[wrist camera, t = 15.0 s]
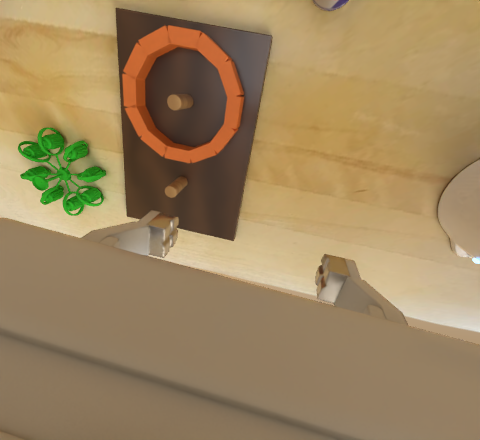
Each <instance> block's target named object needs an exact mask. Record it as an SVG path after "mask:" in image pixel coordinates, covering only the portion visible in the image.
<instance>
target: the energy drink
mask: <svg viewBox="0 0 480 440" xmlns="http://www.w3.org/2000/svg"><path fill="white" fill-rule="evenodd" d="M312 1H313V3H314V4H315V5H316V6H317V7H318V8H320V9H322V10H325V11H332V10H336V9H338V8H340V7H342V6H343V5H345V4H346V3H347V2H348V1H349V0H312Z"/></svg>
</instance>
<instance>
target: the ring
mask: <svg viewBox="0 0 480 440" xmlns="http://www.w3.org/2000/svg"><path fill="white" fill-rule="evenodd" d="M138 41H139V43H136V45H135V47H134V49H133V51H132V53H131V55H130V57H129V59H128V61H127V63H126V66H125V68H124V70H123V71H124V72H125V73H126V74H122V76H123V97H124V106H126V107H127V108H125V110H126V112H127V114H128V116H129V118H130V120H131V122H132V124H133V126H134V128H135V130H136V132H137V134H138V136H139V137H140V136H142V137H141V138H140V139H141V140H142V141H144V142H145V143H146V144H147V145H149V146H150V147H151V148H152V149H153V150H155V151H156V152H157V153H158V154H159V155H161V156H162V157H163V156H165V158H167V159H172V160H177V161H181V162H186V163H191V162H192V163H195V162H198V161H201V160H203V159H206V158H209V157H212V156H215V155H217V154H218V153H219V152H220V151H221V150H222V149H223V148H224V147H225V146H226V144H227V143H228V142H229V141H230V139H231V138H232V137H233V136H234V134H235V133H236V132H237V130H238V127H239V126H240V121H241V114H242V108H243V102H244V97H243V96H241V95H243V94H244V92H243V89H242V86H241V83H240V79H239V76H238V73H237V70H236V67H235V64H234V62H233V61H232V59H231V58H230V57H229V56H228V55H227V54H226V53H225V52H224V51H223V50H222V49H221V48H220V47H219V46H218V45H217V44H216V43H215V42H214V41H213V40H212V39H211V38H210V37H209V36H207V35H206V34H205V33H202V32H201V31H199V30H193V29H188V28H182V27H177V26H171V25H168V27H167V26H163V27H161V28H159V29H158V30H156V31H154V32H152V33H150V34H149V35H147V36H145V37H143V38H141V39H140V40H138ZM177 47H180V48H186V49H191V50H196V51H199V52H200V53H201V54H202V55H203V56H204V57H206V58H207V59H208V60H209V61H210V62H211V63H212V64H213V65H214V66H215V67H216V68H217V69H218V72H219V75H220V77H221V80H222V83H223V86H224V89H225V92H226V95H227V103H226V111H225V119H224V124H223V126H222V127H221V128H220V130H219V131H218V132H217V134H216V135H215V137H214V138H213V139H212V141H210V142H207V143H205V144H202V145H199V146H197V147H190V146H186V145H181V144H176V143H173V142H172V141H171V140H170V139H169V138H167V137H166V136H165V135H164V134H163V133H161V132H160V131H159V130H158V129H157V128H156V127H155V125H154V123H153V120H152V118H151V116H150V114H149V112H148V110H147V108H146V106H145V79H146V77H147V75H148V73H149V71H150V69H151V67H152V66H153V64H154V62H155V60H156V58H157V57H159V56H161V55H163V54H165V53H167V52H169V51H171V50H173V49H175V48H177Z"/></svg>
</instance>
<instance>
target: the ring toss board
mask: <svg viewBox="0 0 480 440" xmlns="http://www.w3.org/2000/svg"><path fill="white" fill-rule="evenodd" d="M116 23H117V41H118V60H119V79H120V97H121V116H122V134H123V153H124V171H125V190H126V209H127V216H128V217H132V218H137V219H142V218H143V217H144V216H145V215H146V214H148V213H149V212H150V211H151V210H152V211H158V212H161V213H165V214H169V215H172V216H176V217H178V218H179V224H178V226H177V227H176V228H180V229H184V230H188V231H193V232H197V233H201V234H206V235H210V236H214V237H219V238H223V239H227V240H231V241H234V239H235V234H236V229H237V223H238V218H239V213H240V208H241V202H242V197H243V192H244V186H245V181H246V176H247V170H248V165H249V160H250V154H251V149H252V144H253V139H254V133H255V128H256V123H257V117H258V112H259V107H260V101H261V96H262V91H263V85H264V80H265V75H266V69H267V64H268V59H269V54H270V48H271V43H272V36H270V35H265V34H259V33H254V32H248V31H242V30H237V29H231V28H226V27H220V26H215V25H209V24H203V23H198V22H192V21H187V20H181V19H176V18H170V17H164V16H159V15H153V14H148V13H142V12H137V11H131V10H125V9H120V8H116ZM168 25H171V26H177V27H182V28H188V29H193V30H199V31H201V32H202V33H205V34H206V35H207V36H209V37H210V38H211V39H212V40H213V41H214V42H215V43H216V44H217V45H218V46H219V47H220V48H221V49H222V50H223V51H224V52H225V53H226V54H227V55H228V56H229V57H230V58H231V59H232V61H233V62H234V64H235V67H236V70H237V73H238V76H239V79H240V83H241V86H242V89H243V92H244V94H243V95H241V96H243V97H244V102H243V108H242V114H241V121H240V126H239V127H238V130H237V132H236V133H235V134H234V136H233V137H232V138H231V139H230V141H229V142H228V143H227V144H226V146H225V147H224V148H223V149H222V150H221V151H220V152H219V153H218V154H217V155H215V156H212V157H209V158H206V159H203V160H201V161H198V162H195V163H192V162H191V163H186V162H181V161H177V160H172V159H167V158H165V156H163V157H162V156H161V155H159V154H158V153H157V152H156V151H155V150H153V149H152V148H151V147H150V146H149V145H147V144H146V143H145V142H144V141H142V140H141V139H140V138H141V137H142V136H140V137H139V136H138V134H137V132H136V130H135V128H134V126H133V124H132V122H131V120H130V118H129V116H128V114H127V112H126V110H125V108H127V107H126V106H124V97H123V76H122V74H126V73H125V72H124V71H123V70H124V68H125V66H126V63H127V61H128V59H129V57H130V55H131V53H132V51H133V49H134V47H135V45H136V43H139V41H138V40H140V39H141V38H143V37H145V36H147V35H149V34H150V33H152V32H154V31H156V30H158V29H159V28H161V27H163V26H167V27H168ZM226 103H227V95H226V92H225V89H224V86H223V83H222V80H221V77H220V75H219V72H218V69H217V68H216V67H215V66H214V65H213V64H212V63H211V62H210V61H209V60H208V59H207V58H206V57H204V56H203V55H202V54H201V53H200V52H199V51H196V50H191V49H186V48H180V47H177V48H175V49H173V50H171V51H169V52H167V53H165V54H163V55H161V56H159V57H157V58H156V60H155V62H154V64H153V66H152V67H151V69H150V71H149V73H148V75H147V77H146V79H145V106H146V108H147V110H148V112H149V114H150V116H151V118H152V120H153V123H154V125H155V127H156V128H157V129H158V130H159V131H160V132H161V133H163V134H164V135H165V136H166V137H167V138H169V139H170V140H171V141H172V142H173V143H176V144H181V145H186V146H190V147H197V146H199V145H202V144H205V143H207V142H210V141H212V139H213V138H214V137H215V135H216V134H217V132H218V131H219V130H220V128H221V127H222V126H223V124H224V119H225V111H226Z"/></svg>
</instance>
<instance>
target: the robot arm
mask: <svg viewBox="0 0 480 440" xmlns="http://www.w3.org/2000/svg"><path fill="white" fill-rule="evenodd" d="M438 219H439V223H440V225H441V227H442V228H443V230H444V231H445V232H446V233H447V235H448V236H449V237H450V240H451V248H452V251H453V252H454V253H455V254H456V255H458V256H460V257H468V258H473V261H474V262H475V263H480V160H478V161H476V162H474V163H472V164H471V165H469V166H468V167H466V168H465V169H464V170H462V171H461V172H460V173H459V174H458V175H457V176H456V177H455V178H454V179H453V180H452V181H451V182H450V183H449V185H448V186H447V187H446V189H445V190H444V192H443V194H442V196H441V199H440V201H439V205H438ZM178 224H179V218H178V217H176V216H172V215H169V214H165V213H161V212H158V211H152V210H151V211H150V212H149V213H148V214H146V215H145V216H144V217H143V218H142V219H140V220H139V221H138V222H130V223H126V224H121V225H117V226H112V227H107V228H103V229H98V230H93V231H91V232H89V233H88V234H86V235H85V236H84V237H82V238H78V237H74V236H71V235H67V234H63V233H59V232H56V231H52V230H48V229H44V228H41V227H37V226H33V225H29V224H26V223H22V222H19V221H15V220H12V219H8V218H0V440H480V345H479V344H475V343H471V342H468V341H463V340H460V339H456V338H453V337H449V336H445V335H441V334H438V333H434V332H430V331H426V330H423V329H419V328H415V327H411V326H408V323H407V321H406V320H405V317H404V315H403V313H402V312H401V311H400V310H398V309H397V308H396V307H395V306H394V305H392V304H391V303H390V302H389V301H388V300H387V299H385V298H384V297H383V296H382V295H381V294H380V293H378V292H377V291H376V290H375V289H374V288H373V287H371V286H370V285H369V284H368V283H367V282H366V281H364V280H361V277H360V275H359V272H358V269H357V267H356V264H355V261H353V260H349V259H345V258H340V257H336V256H331V255H327V254H324V256H323V257H322V260H321V262H322V265H321V266H319V267H318V270H317V272H316V277H315V282H316V285H317V286H318V287H317V289H316V291H317V298H318V299H320V300H323V301H327V302H330V303H333V304H334V305H335V306H333V305H329V304H325V303H322V302H318V301H313V300H310V299H307V298H303V297H299V296H295V295H292V294H288V293H284V292H280V291H277V290H273V289H269V288H265V287H261V286H257V285H254V284H250V283H247V282H243V281H239V280H235V279H231V278H228V277H224V276H220V275H217V274H213V273H209V272H205V271H202V270H198V269H194V268H190V267H187V266H183V265H179V264H175V263H172V262H168V261H164V260H160V259H157V258H153V257H149V256H148V255H153V256H158V257H162V258H164V257H165V256H166V255H167V253H168V252H169V248H170V247H173V246H174V244H175V242H176V240H177V236H178V230H177V228H176V227H177V226H178Z"/></svg>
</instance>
